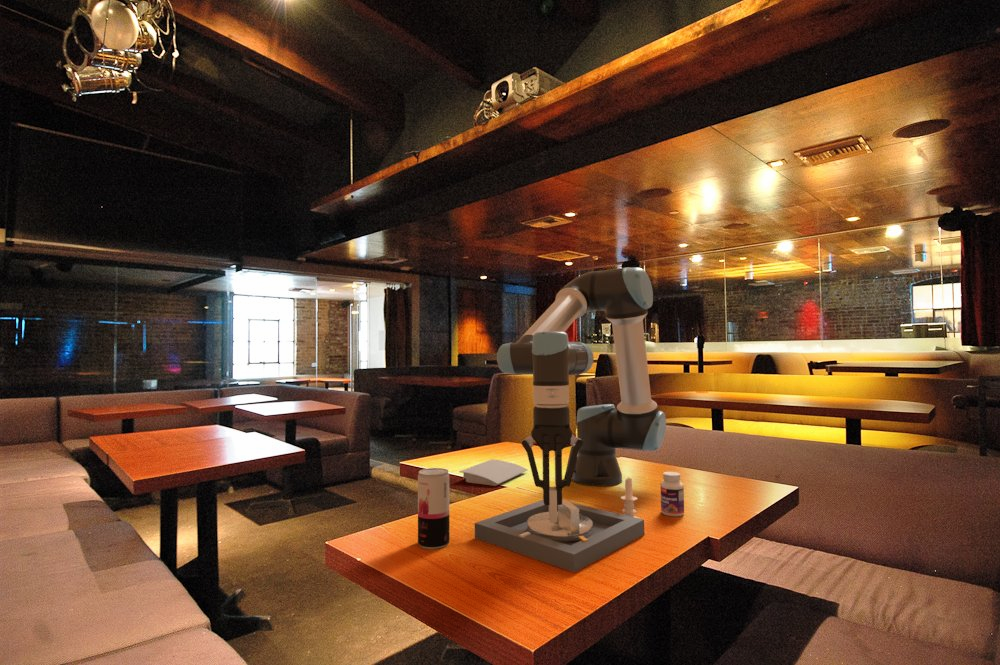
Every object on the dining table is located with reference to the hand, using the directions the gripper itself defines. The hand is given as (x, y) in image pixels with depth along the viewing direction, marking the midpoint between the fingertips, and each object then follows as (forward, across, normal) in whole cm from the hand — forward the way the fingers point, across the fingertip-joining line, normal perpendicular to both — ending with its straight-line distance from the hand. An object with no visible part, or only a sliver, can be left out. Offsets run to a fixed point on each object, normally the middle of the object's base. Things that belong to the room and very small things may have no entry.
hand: (553, 520), depth 106 cm
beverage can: (+5, -25, +1) cm, 25 cm away
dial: (+4, +2, +4) cm, 6 cm away
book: (+6, -14, +59) cm, 61 cm away
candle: (+5, +19, +15) cm, 25 cm away
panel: (+5, +2, +5) cm, 7 cm away
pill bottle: (+5, +31, +20) cm, 37 cm away
